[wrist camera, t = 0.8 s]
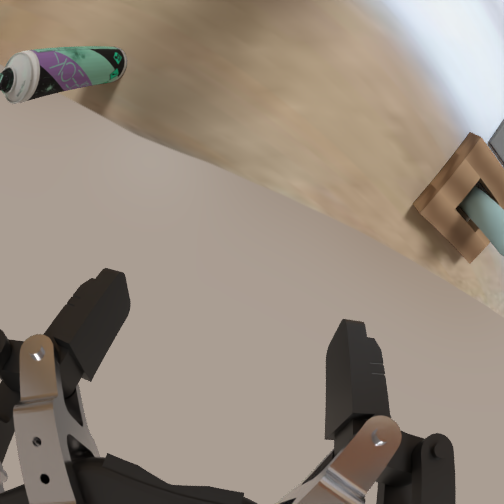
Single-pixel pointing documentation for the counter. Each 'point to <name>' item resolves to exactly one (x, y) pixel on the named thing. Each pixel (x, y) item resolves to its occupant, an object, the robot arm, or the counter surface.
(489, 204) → the peg
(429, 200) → the pocket block
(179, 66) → the counter surface
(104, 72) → the spray can
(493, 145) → the mat
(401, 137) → the counter surface
